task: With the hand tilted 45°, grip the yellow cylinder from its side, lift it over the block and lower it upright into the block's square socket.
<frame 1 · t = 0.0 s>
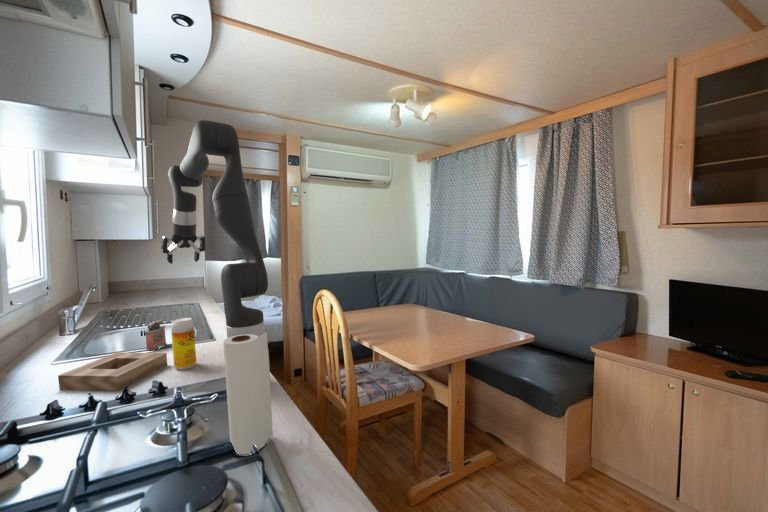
hand: (183, 261, 133), 31 cm above the counter, tool tilted 20°, fingers open, 8 cm apart
socket block: (117, 376, 104), on the counter
paper towel roll: (251, 448, 66), on the counter
yellow cylinder: (185, 367, 110), on the counter
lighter: (156, 349, 129), on the counter
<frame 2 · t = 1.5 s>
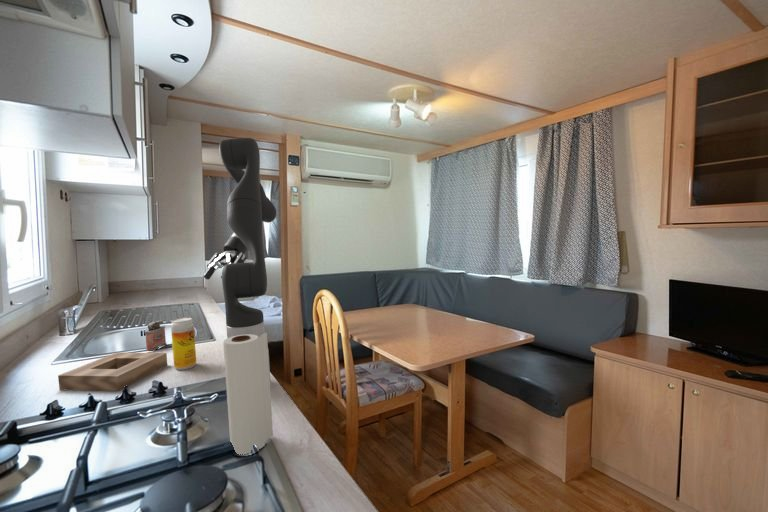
hand: (214, 278, 117), 27 cm above the counter, tool tilted 45°, fingers open, 8 cm apart
nothing on the counter moved.
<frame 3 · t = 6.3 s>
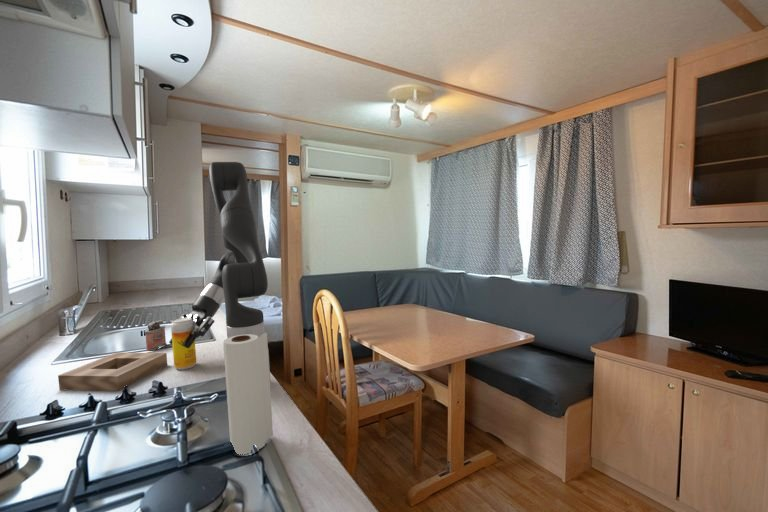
hand: (178, 345, 108), 7 cm above the counter, tool tilted 45°, fingers closed on yellow cylinder, 6 cm apart
yellow cylinder: (185, 367, 110), on the counter, touching gripper
everything else where it was.
when the fingers open (9 cm above the counter, at t = 13.1 s): yellow cylinder drops 1 cm, resting in socket block.
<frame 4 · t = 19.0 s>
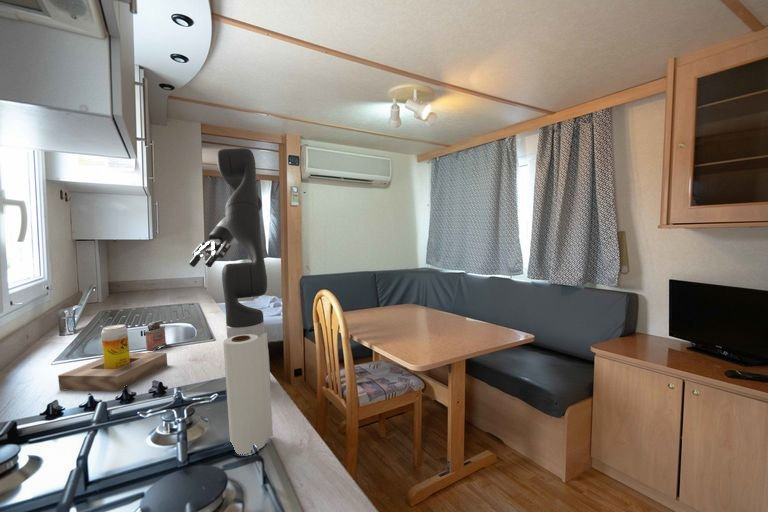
hand: (199, 265, 122), 31 cm above the counter, tool tilted 45°, fingers open, 8 cm apart
yellow cylinder: (118, 377, 104), resting in socket block
everything else where it was.
at the end: yellow cylinder 0.3 cm off-centre on the socket block, point 0.0 cm above the socket block's base; yellow cylinder tilted 0°; the gripper is holding nothing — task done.
